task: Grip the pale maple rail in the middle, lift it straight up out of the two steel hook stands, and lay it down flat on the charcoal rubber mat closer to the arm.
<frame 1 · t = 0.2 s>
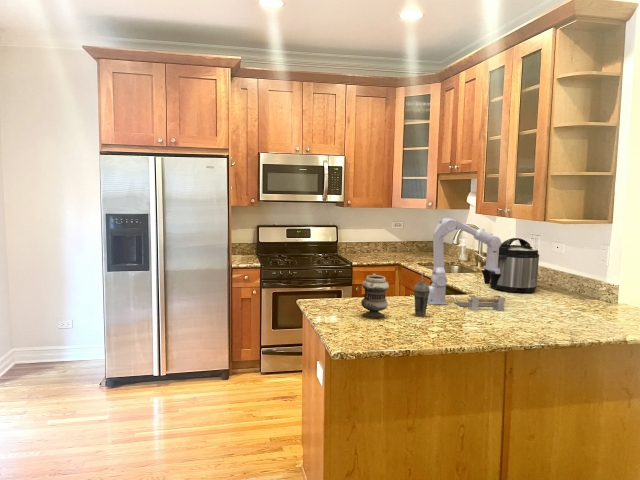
hand: (490, 285, 241), 10 cm above the worktop, tool pointing down, fingers open, 7 cm apart
beverage cup: (420, 315, 214), on the worktop
hook stands: (485, 309, 230), on the worktop
rail: (486, 299, 230), point 5 cm above the worktop, touching hook stands
mat: (477, 305, 239), on the worktop
apothecary jar: (373, 316, 211), on the worktop
pressure cooker: (510, 289, 286), on the worktop
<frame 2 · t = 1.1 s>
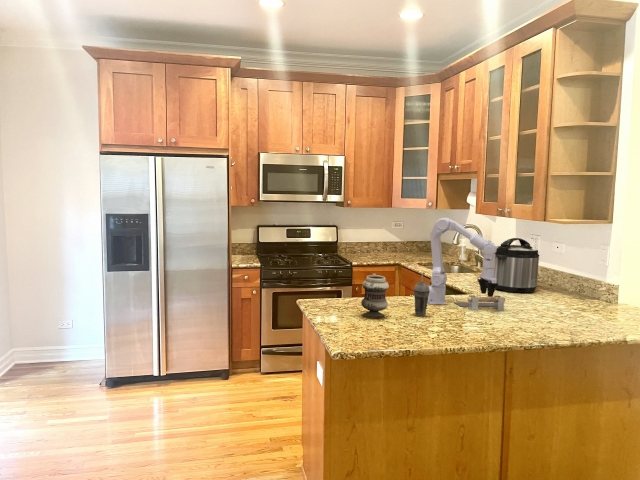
hand: (486, 295, 230), 7 cm above the worktop, tool pointing down, fingers open, 7 cm apart
nothing on the worktop moved.
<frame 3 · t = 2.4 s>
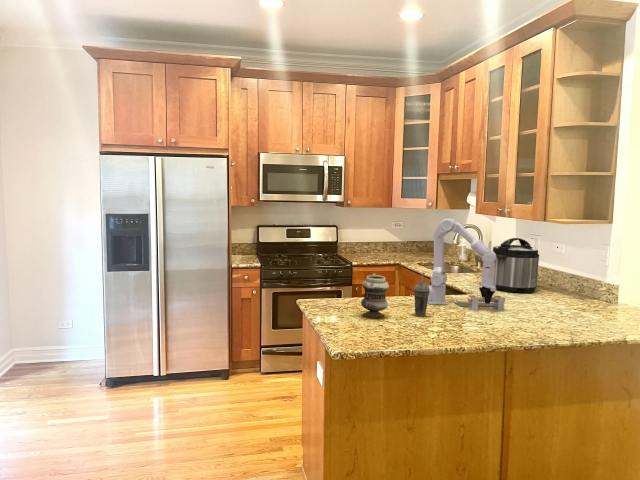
hand: (486, 302, 230), 3 cm above the worktop, tool pointing down, fingers closed on rail, 2 cm apart
rail: (486, 299, 230), point 5 cm above the worktop, touching gripper, hook stands
everything else where it was.
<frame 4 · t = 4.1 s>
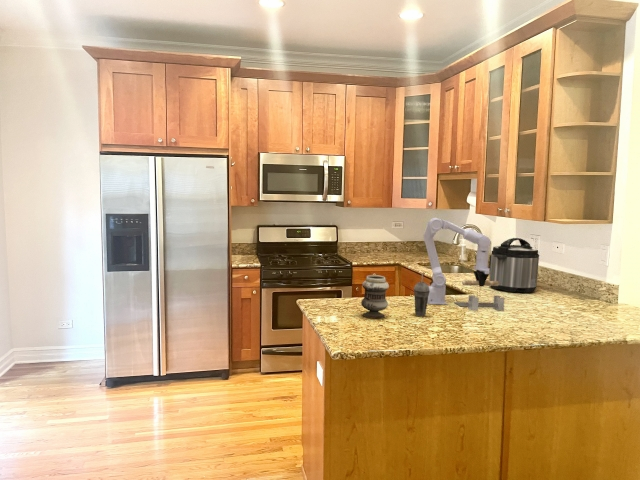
hand: (480, 285, 237), 10 cm above the worktop, tool pointing down, fingers closed on rail, 2 cm apart
rail: (480, 283, 237), point 12 cm above the worktop, touching gripper
everything else where it was.
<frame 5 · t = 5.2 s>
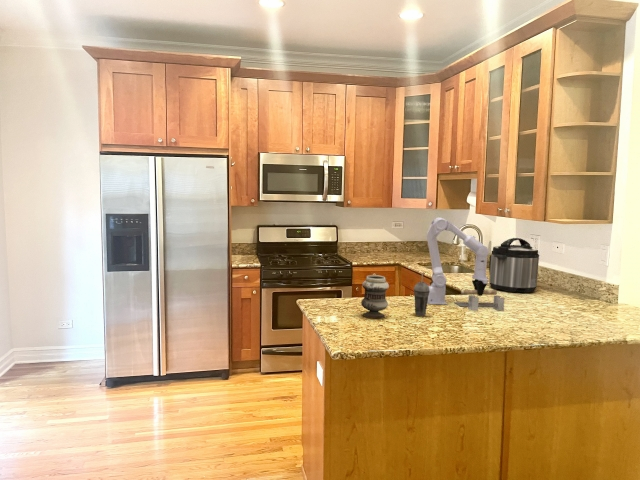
hand: (478, 294, 239), 5 cm above the worktop, tool pointing down, fingers closed on rail, 2 cm apart
rail: (478, 292, 239), point 7 cm above the worktop, touching gripper
everything else where it was.
when the fingers open (2 cm above the worktop, at t = 6.2 s): rail drops 1 cm, resting on mat.
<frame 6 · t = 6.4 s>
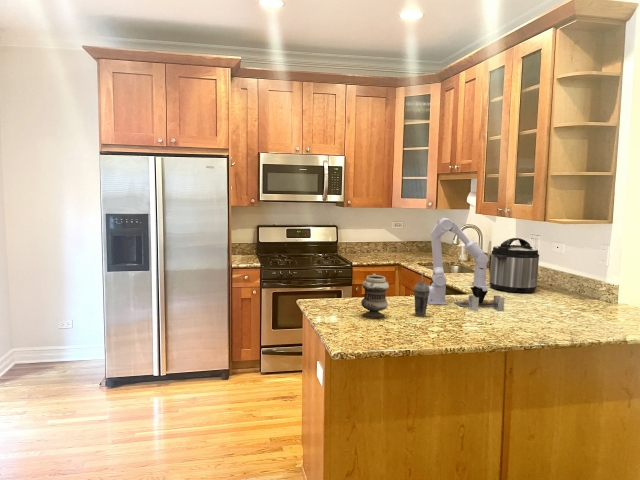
hand: (478, 302, 239), 2 cm above the worktop, tool pointing down, fingers open, 4 cm apart
rail: (478, 302, 239), point 2 cm above the worktop, touching mat
everything else where it was.
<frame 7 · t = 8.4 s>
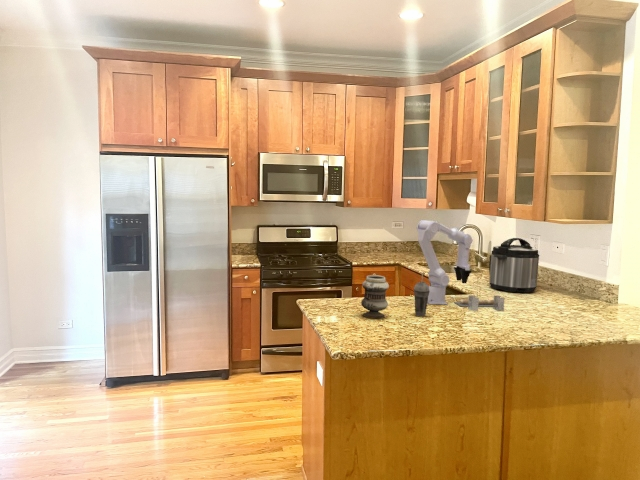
hand: (461, 281, 247), 10 cm above the worktop, tool pointing down, fingers open, 7 cm apart
nothing on the worktop moved.
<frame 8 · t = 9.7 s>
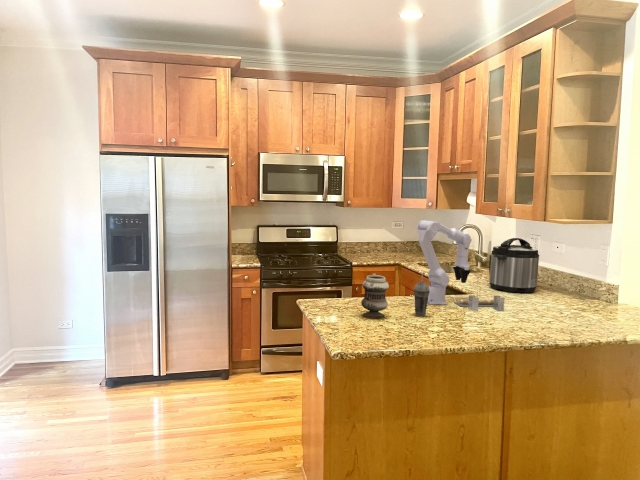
hand: (460, 281, 248), 10 cm above the worktop, tool pointing down, fingers open, 7 cm apart
nothing on the worktop moved.
at the end: rail inside the target area on the mat (0.1 cm from its centre), point 1.7 cm above the mat's base; rail touching mat; the gripper is holding nothing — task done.
